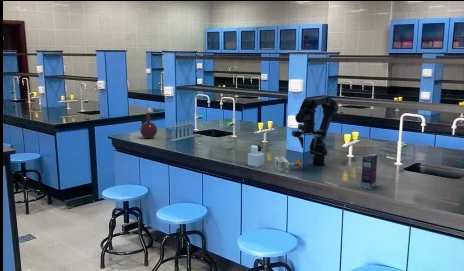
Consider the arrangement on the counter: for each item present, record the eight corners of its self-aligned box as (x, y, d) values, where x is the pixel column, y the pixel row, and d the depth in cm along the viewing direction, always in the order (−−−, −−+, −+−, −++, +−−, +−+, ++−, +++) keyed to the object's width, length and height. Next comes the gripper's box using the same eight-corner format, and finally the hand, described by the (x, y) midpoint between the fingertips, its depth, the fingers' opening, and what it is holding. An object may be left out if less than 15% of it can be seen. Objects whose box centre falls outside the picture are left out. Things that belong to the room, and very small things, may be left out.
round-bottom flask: (151, 136, 339) (150, 111, 335) (160, 138, 329) (159, 113, 325) (137, 138, 330) (136, 113, 326) (146, 140, 320) (145, 114, 317)
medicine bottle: (254, 162, 252) (254, 143, 250) (264, 164, 248) (264, 145, 245) (247, 165, 247) (247, 145, 244) (257, 167, 242) (257, 147, 240)
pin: (298, 166, 240) (299, 159, 239) (301, 168, 236) (301, 161, 235) (279, 167, 238) (279, 160, 237) (281, 169, 234) (281, 161, 233)
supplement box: (366, 183, 210) (368, 152, 207) (375, 185, 208) (377, 154, 205) (360, 187, 203) (362, 156, 200) (370, 189, 201) (372, 157, 198)
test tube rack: (173, 141, 319) (172, 124, 316) (168, 140, 321) (168, 123, 319) (195, 136, 338) (194, 120, 336) (191, 135, 341) (190, 119, 338)
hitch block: (282, 166, 242) (282, 156, 241) (288, 172, 231) (288, 162, 230) (274, 167, 242) (274, 157, 241) (279, 172, 230) (280, 162, 229)
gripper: (320, 118, 243) (319, 144, 246) (289, 119, 240) (288, 145, 243) (327, 121, 232) (326, 148, 235) (294, 122, 229) (294, 150, 232)
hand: (308, 148), depth 236 cm, fingers open, 7 cm apart
